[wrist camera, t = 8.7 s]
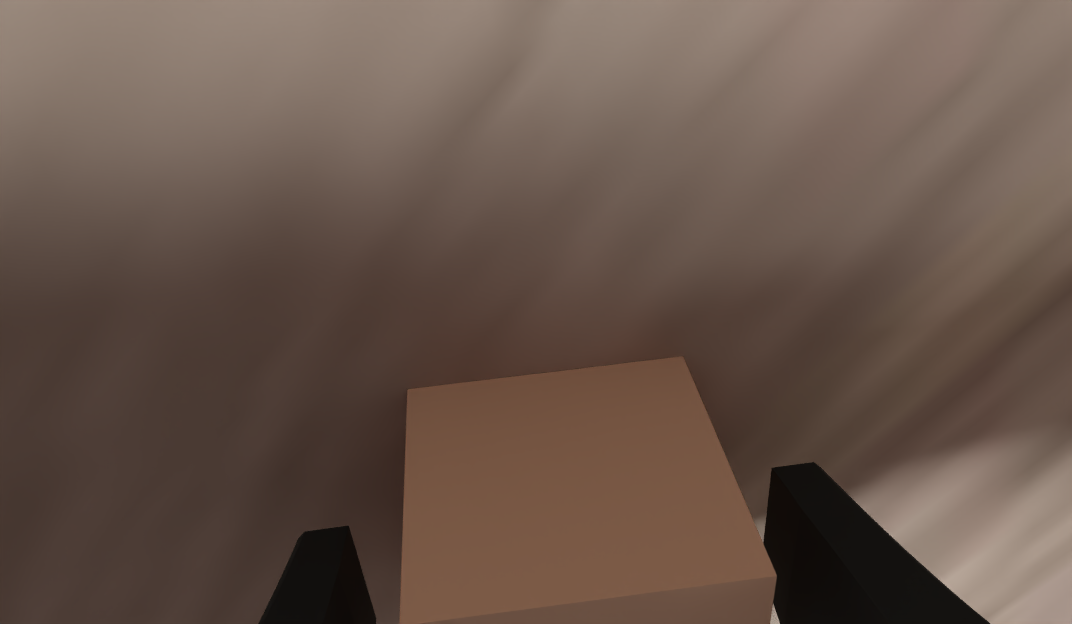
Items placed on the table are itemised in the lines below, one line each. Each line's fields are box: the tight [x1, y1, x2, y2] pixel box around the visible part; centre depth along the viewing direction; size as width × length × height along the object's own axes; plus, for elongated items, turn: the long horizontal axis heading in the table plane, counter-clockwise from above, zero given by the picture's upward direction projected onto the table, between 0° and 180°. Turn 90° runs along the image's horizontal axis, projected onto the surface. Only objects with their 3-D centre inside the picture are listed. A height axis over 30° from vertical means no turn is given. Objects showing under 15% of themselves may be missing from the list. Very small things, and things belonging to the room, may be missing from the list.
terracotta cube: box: [400, 356, 777, 624], centre depth 11 cm, size 4×4×4 cm
